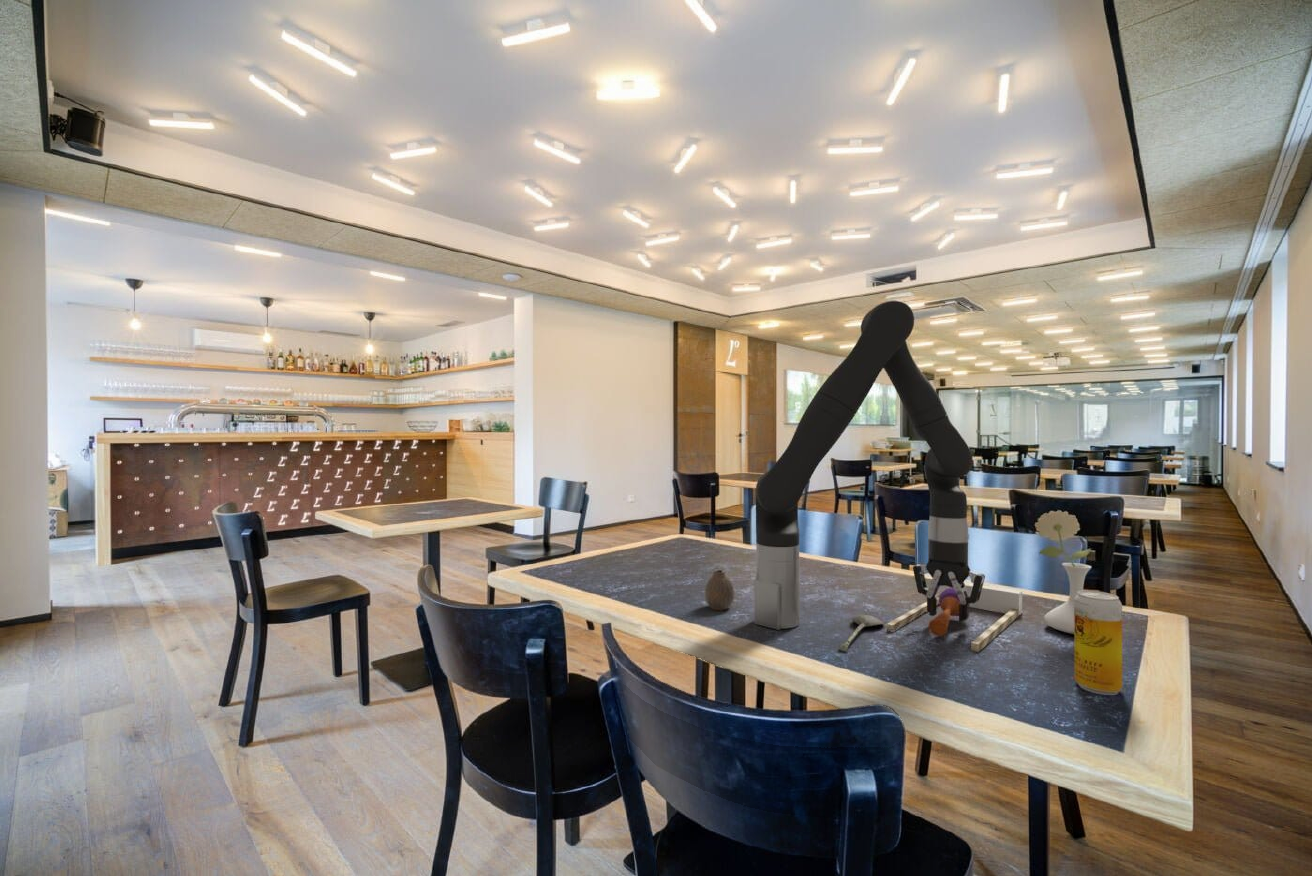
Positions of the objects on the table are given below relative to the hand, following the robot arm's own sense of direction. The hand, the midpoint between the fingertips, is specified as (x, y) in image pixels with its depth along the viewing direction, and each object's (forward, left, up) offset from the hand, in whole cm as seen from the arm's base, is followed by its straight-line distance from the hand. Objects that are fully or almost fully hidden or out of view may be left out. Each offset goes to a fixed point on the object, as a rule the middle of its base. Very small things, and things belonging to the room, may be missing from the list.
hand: (947, 617), depth 122 cm
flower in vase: (+16, -19, -2) cm, 25 cm away
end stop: (+22, 0, -2) cm, 22 cm away
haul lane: (+5, 0, -2) cm, 5 cm away
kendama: (0, 0, -1) cm, 1 cm away
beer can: (-15, -27, -2) cm, 31 cm away
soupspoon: (-17, +12, -3) cm, 21 cm away
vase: (-22, +44, -2) cm, 49 cm away
